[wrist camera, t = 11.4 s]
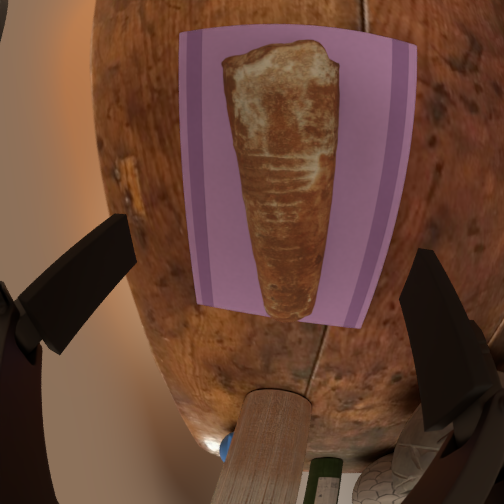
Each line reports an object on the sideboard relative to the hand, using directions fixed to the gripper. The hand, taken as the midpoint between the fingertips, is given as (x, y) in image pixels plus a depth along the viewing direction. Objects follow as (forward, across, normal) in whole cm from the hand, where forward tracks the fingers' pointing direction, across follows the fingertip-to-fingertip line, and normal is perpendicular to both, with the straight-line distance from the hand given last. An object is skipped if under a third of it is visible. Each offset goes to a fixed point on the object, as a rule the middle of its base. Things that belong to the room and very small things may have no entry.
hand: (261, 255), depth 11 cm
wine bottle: (+8, +17, -62) cm, 65 cm away
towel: (+9, 0, 0) cm, 9 cm away
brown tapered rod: (+9, +1, 0) cm, 9 cm away
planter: (+9, +2, -31) cm, 32 cm away
